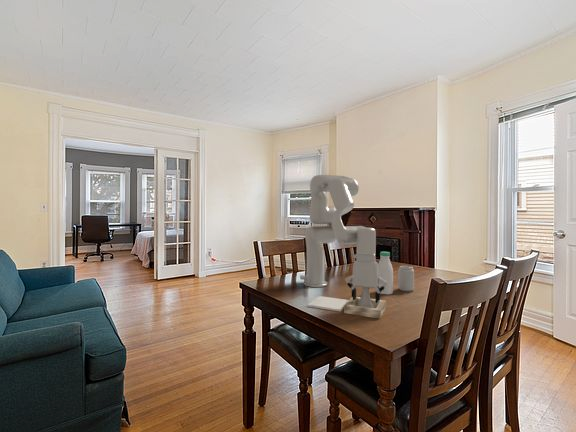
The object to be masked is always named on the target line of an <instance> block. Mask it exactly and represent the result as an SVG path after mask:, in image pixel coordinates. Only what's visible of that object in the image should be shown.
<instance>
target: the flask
mask: <svg viewBox="0 0 576 432" xmlns="http://www.w3.org/2000/svg"><path fill="white" fill-rule="evenodd" d="M361 288H362V292H361V295H360V297H361V298H360V301H359V304H358V305H357V306H362V307H369V308H374V307H373V305H372V302H371V299H372V298H371V295H370V288H368V287H361Z"/></svg>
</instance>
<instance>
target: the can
mask: <svg viewBox="0 0 576 432" xmlns="http://www.w3.org/2000/svg"><path fill="white" fill-rule="evenodd" d="M397 275H398V276H397V277H398V278H397V288H398V290H400V291H402V292H412V291H414V290H415V270H414V267H413V266H410V265H400V266H399V268H398V272H397Z"/></svg>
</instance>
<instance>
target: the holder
mask: <svg viewBox="0 0 576 432" xmlns="http://www.w3.org/2000/svg"><path fill="white" fill-rule="evenodd" d="M360 298H361V296H356V299H355V300H353V297H352V296H351V297H350V298H349V299H348V300H349V301H348V302H347V303H346V304H345V305H344V307H343V314H349V315H355V316H361V317H367V318H375V319H380V320H381V318H382V316H383V315H384V312H385V310H386V308H387V300H383V299H380V301H378V303H375V298H371V302H372V305H373V307H374V308H369V307H362V306H358V304H359V301H360Z"/></svg>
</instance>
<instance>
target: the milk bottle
mask: <svg viewBox="0 0 576 432" xmlns="http://www.w3.org/2000/svg"><path fill="white" fill-rule="evenodd" d="M379 256H380V259H379V261H378V262H377V264H378V271H379V277H380V278H382V279H383V280H385V281H386V282H388V284H387V285H386V287H385V288H384V290H382V291H381V292H380V295H392V294H393V293H394V292H393V291H394V270H393V269H394V268H393V265H392V263H391V259H390V257H391V252H390V251H380V253H379ZM382 285H383V283H381V282H380V281H379V285H378V286H379V288H380V287H382Z"/></svg>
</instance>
